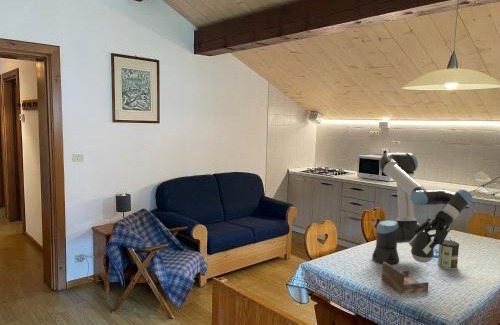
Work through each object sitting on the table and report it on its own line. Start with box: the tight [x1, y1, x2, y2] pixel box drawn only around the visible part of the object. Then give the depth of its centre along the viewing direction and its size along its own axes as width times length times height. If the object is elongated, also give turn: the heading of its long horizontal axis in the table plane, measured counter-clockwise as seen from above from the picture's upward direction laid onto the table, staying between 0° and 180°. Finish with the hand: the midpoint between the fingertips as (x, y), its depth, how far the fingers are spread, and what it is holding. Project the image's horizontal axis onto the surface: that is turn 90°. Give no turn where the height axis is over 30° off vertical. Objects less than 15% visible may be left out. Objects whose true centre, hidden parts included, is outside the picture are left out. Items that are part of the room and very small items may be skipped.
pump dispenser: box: [410, 231, 435, 263], centre depth 186 cm, size 10×10×15 cm
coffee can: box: [437, 239, 460, 271], centre depth 219 cm, size 10×10×14 cm
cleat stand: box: [381, 262, 429, 295], centre depth 191 cm, size 15×16×10 cm
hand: (417, 248), depth 186 cm, fingers closed on pump dispenser, 9 cm apart
